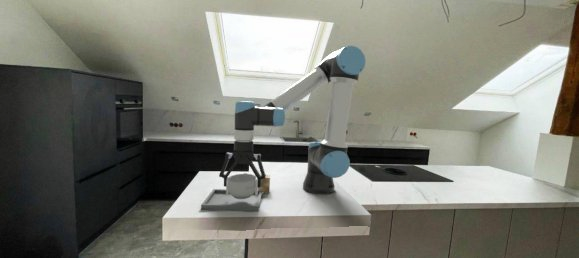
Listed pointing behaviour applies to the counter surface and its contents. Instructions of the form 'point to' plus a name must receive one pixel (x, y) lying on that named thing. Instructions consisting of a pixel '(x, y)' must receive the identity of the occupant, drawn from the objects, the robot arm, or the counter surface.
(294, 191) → the counter surface
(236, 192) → the teacup
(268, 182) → the oak block
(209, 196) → the tray
